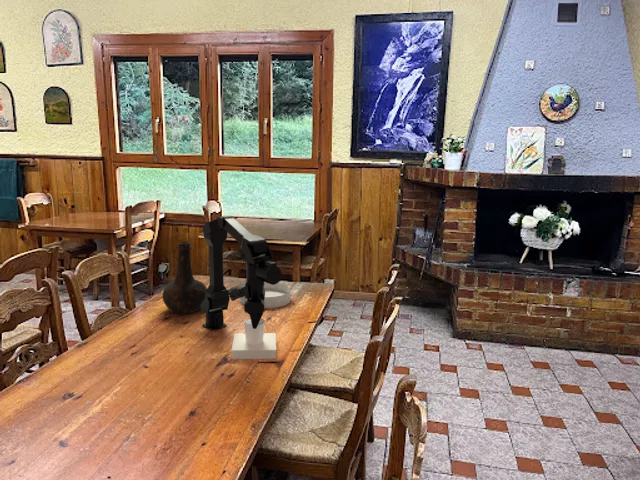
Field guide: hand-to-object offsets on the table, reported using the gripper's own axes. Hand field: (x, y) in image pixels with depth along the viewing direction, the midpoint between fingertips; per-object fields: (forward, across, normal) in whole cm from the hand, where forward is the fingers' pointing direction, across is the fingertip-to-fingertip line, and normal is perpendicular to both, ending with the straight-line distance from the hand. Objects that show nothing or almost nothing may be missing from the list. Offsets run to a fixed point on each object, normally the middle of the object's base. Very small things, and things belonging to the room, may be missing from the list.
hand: (255, 323), depth 158 cm
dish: (+10, -52, +3) cm, 53 cm away
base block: (+9, 0, 0) cm, 9 cm away
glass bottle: (+9, -39, -29) cm, 50 cm away
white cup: (+6, 0, 0) cm, 7 cm away
